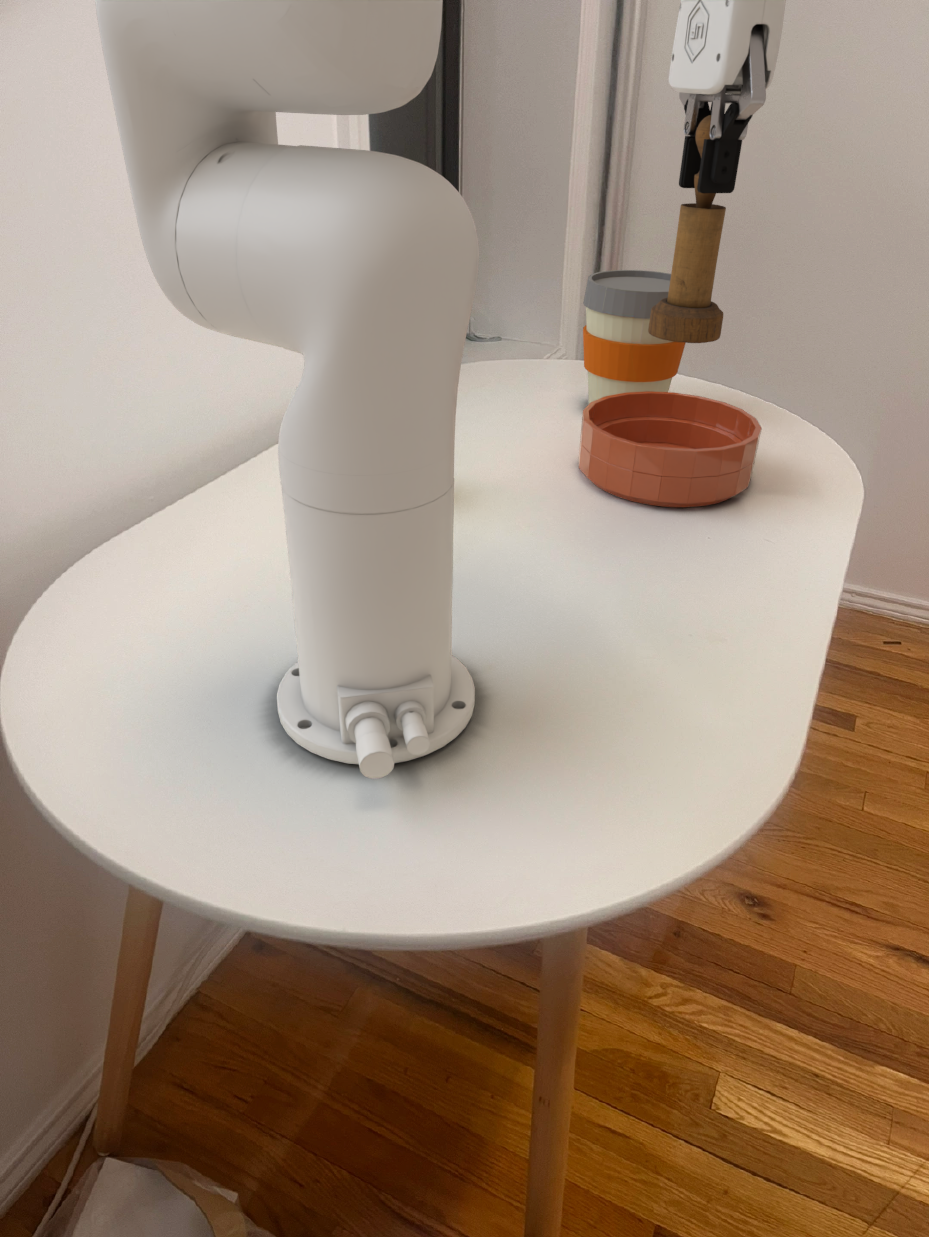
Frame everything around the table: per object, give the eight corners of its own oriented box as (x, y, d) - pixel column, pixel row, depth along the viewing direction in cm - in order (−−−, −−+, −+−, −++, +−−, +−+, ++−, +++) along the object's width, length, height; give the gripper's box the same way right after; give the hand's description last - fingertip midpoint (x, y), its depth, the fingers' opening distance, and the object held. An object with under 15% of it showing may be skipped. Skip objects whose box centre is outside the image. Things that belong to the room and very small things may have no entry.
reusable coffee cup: (679, 399, 111) (699, 274, 103) (675, 432, 101) (696, 296, 93) (581, 389, 114) (592, 266, 106) (566, 420, 104) (578, 287, 96)
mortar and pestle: (714, 328, 85) (751, 114, 76) (724, 346, 80) (765, 118, 70) (645, 325, 86) (672, 112, 76) (650, 342, 80) (681, 116, 71)
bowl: (781, 503, 85) (795, 444, 82) (613, 517, 81) (621, 456, 78) (701, 440, 99) (710, 387, 96) (556, 450, 96) (560, 395, 92)
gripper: (655, -69, 72) (629, 180, 82) (753, -98, 59) (708, 203, 69) (738, -64, 74) (703, 179, 84) (853, -91, 61) (794, 202, 70)
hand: (705, 188), depth 76 cm, fingers closed on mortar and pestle, 2 cm apart
